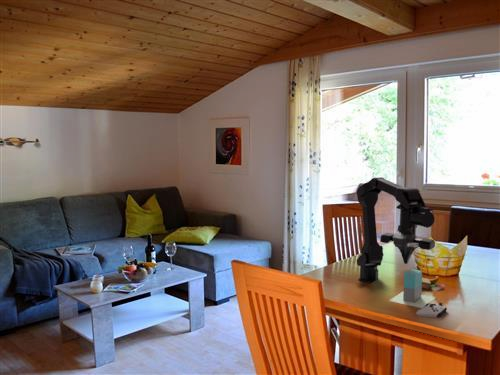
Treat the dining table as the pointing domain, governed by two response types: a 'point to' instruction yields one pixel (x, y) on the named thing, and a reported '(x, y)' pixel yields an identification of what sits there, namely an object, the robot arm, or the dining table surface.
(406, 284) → the teal brick
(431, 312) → the gaming controller
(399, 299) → the base plate
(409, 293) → the grey rectangular block
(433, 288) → the toy sandwich meal
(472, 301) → the dining table surface
